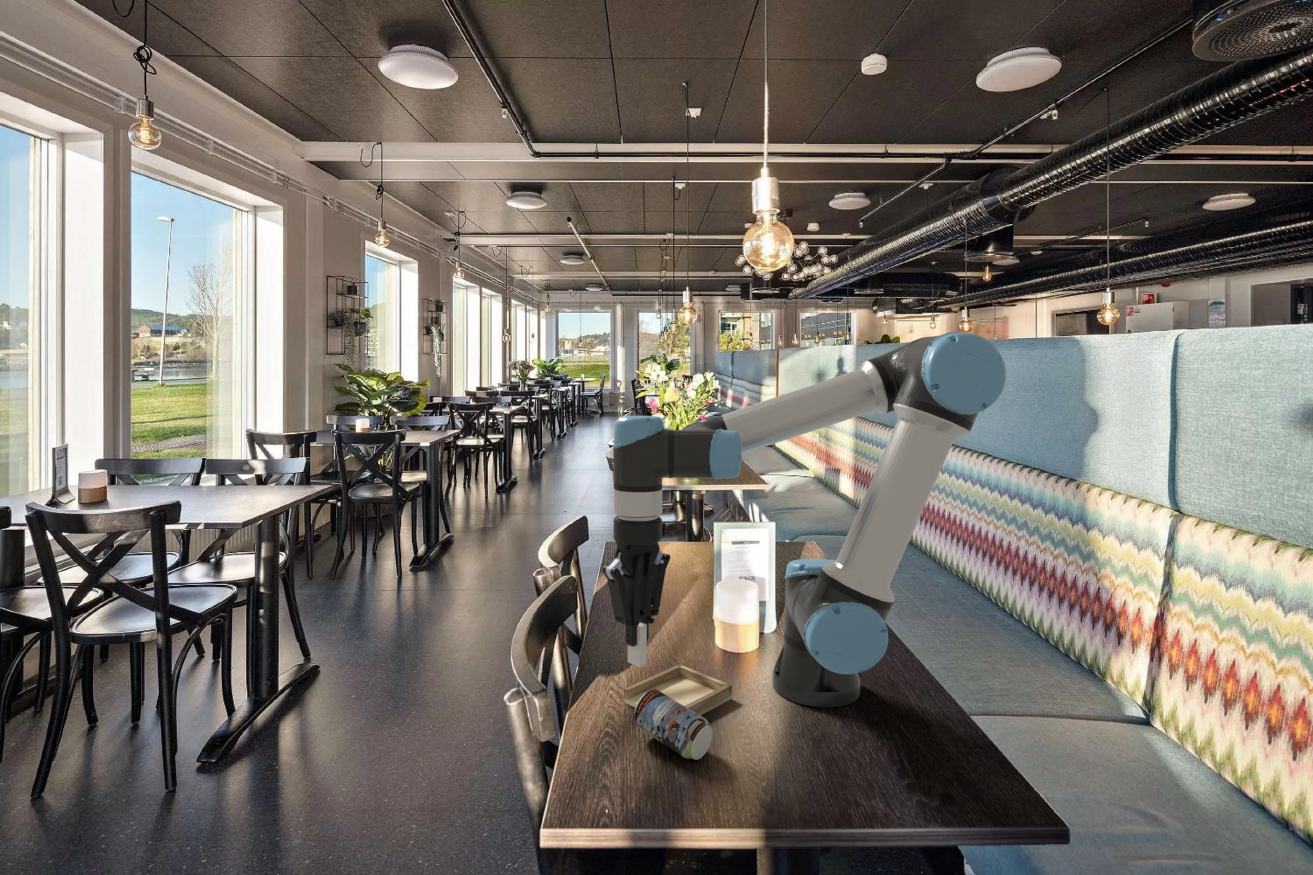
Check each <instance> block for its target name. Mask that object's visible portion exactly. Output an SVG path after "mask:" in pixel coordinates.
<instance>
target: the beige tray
mask: <svg viewBox="0 0 1313 875" xmlns="http://www.w3.org/2000/svg"><path fill="white" fill-rule="evenodd" d="M732 687H733V685H732V684H729V683H727V682H725V681H722V680H719V679H717V678H714V677H712V676H710V675H707V674H704V673H702V672H700V671H697V670H694V669H692V668H689V667H687V666H685V665H682V664H678V665H675V666H672V667H671V668H668V669H666V670H663V671H661V672H659V673H657V674H654V675H652V676H649V677H648V678H645V679H644V680H641V681H638V682H636V683H634V684H631V685H630V686H627V687H625V688H623V704H624V703H625V704H627V705H628V706H630V707H632V708H634V709H635V708H636V705H637V703H638V701H639V699H640V698H641V697H642V696H643V695H644V694H645V693H647V692H649V691H650V690H653V689H656V690H659V691H660V692H662V693H663V694H665V695H667V696H668V697H670V698H672V699H673V700H675V701H677V702H678V703H680V704H682V705H683V706H685V707H687V708H688V709H690V710H692V711H693V712H695V713H697V714H698V715H700V716H703V715H704V714H706V713H708V712H710V711H712V710H713V709H715V708H718V707H719V706H721V705H723V704H725V703H727V702H729V701H730V700H732V695H733V694H732V691H733V690H732V689H733V688H732Z"/></svg>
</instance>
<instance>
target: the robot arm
mask: <svg viewBox="0 0 1313 875" xmlns="http://www.w3.org/2000/svg"><path fill="white" fill-rule="evenodd" d="M1006 378H1007V370H1006V364H1005V361H1004V360H1003V357H1002V354H1001V353H1000V351H999V350H998V348H997V347H996V346H995V345H994V344H993V343H992V342H991V341H989V340H988V339H986V338H985V337H983V336H981V335H979V334H976V333H975V334H974V333H969V332H962V331H950V332H946V333H942V334H940V335H934V336H932V335H931V336H925V337H921V338H917V339H916V338H915V340H911V341H909V342H907V343H904V344H903V345H901V346H899V347H897V348H895V349H893V350H890V351H888V352H885V353H884V354H881V355H878V356H876V357H873V358H870V359H866V360H864V361H863V362H862V364H861V366H860V368H859V369H856V370H853V371H850V372H847V373H845V374H841V375H838V376H835V377H833V378H829V379H826V380H823V381H819V382H817V383H814V384H811V385H807V386H805V387H801V388H800V389H799V388H798V389H796V390H793V391H790V392H787V393H783V394H781V395H778V396H775V397H772V398H769V399H766V400H763V401H760V402H758V403H754V404H751V405H748V406H746V407H745V406H744V407H741V408H739V409H737V410H733V411H731V412H727V413H724V414H722V415H720V416H716V417H713V418H709V419H707V420H704V421H695V422H692V423H689V424H687V425H685V427H683V428H682V429H669V428H665V426H664V422H663V419H662V417H661V416H655V415H654V416H653V415H624V416H620V417H619V418H618V419H616V421H615V422H614V431H613V432H614V434H613V435H614V436H613V446H612V448H613V451H612V452H613V513H614V514H615V515H616V516H615V517H614V518H613V534H612V535H613V537H612V538H613V539H614V541H615V543H616V549H615V552H614V560H613V561H612V562H611V564H610V565H607V564H606V565H605V564H604V566H602V569H601V570H602V573H603V574H604V576H605V578H606V580H607V585H608V591H609V596H610V599H611V600H610V601H611V605H612V611H613V616H614V617H613V618H614V621H615V622H616V623H619V624H621V625H624V626H625V627H624V628H625V635H624V636H625V637H624V638H625V639H624V640H625V644H626V645H627V663H629V664H631V665H633V666H636V667H638V668H641V667H644V666H646V665H647V642H648V640H649V635H650V634H649V633H650V632H649V629H650V628H649V625H653V624H654V622H655V618H653V617H655V616H658V615H659V612H660V607H661V602H662V595H663V589H664V585H665V584H664V582H665V578H666V571H667V568H668V565H669V562H670V560H671V555H670V554H669V553H665V552H663V551H661V549H660V545H659V542H660V541H662V537H663V519H662V518H661V516H660V515H662V514H663V479H702V480H704V479H707V480H710V479H712V480H716V481H720V480H723V479H735V478H737V477H738V476H739V475H740V474H741V468H742V455H744V454H746V453H750V452H753V451H756V450H758V449H763V448H764V447H765V448H766V447H768V446H772V445H774V444H778V443H781V442H783V441H786V440H787V441H788V440H789V439H793V438H796V437H799V436H802V435H805V434H809V433H811V432H814V431H817V430H820V429H824V428H827V427H829V426H833V425H836V424H839V423H842V422H845V421H847V420H848V421H849V420H851V419H854V418H858V417H860V416H863V415H866V414H870V413H873V412H876V413H878V414H880V415H885V414H889V413H891V412H895V415H896V418H897V421H896V423H895V425H894V428H893V430H892V432H891V435H890V436H889V439H888V442H887V443H886V445H885V448H884V450H883V453H882V455H881V457H880V459H879V462H878V464H877V466H876V469H875V471H874V473H873V475H872V477H871V480H870V482H869V484H868V487H867V488H866V491H865V494H864V496H863V499H862V501H861V503H860V505H859V508H858V511H857V512H856V514H855V516H854V519H853V521H852V524H851V526H850V528H849V530H848V533H847V535H846V538H845V540H844V542H843V544H842V546H841V549H840V551H839V553H838V555H837V557H836V559H826V558H825V559H824V558H799V559H794V560H791V561H790V562H789V563H787V565H786V571H785V576H784V580H785V589H784V590H785V594H784V595H785V596H784V599H785V600H784V623H783V624H784V626H783V627H784V629H783V644H782V647H781V648H780V652H779V654H778V656H777V660H776V662H775V664H774V667H773V670H772V687H773V689H774V691H775V692H776V693H777V694H779V695H780V696H781V697H783V698H785V699H786V700H789V701H791V702H794V703H796V704H800V705H804V706H809V707H815V708H837V707H844V706H848V705H850V704H853V703H855V701H857V700H858V699H859V697H860V693H861V678H860V676H859V674H858V673H862V672H864V671H865V672H866V671H868V670H870V669H871V668H873V667H875V665H877V664H878V663H879V662H880V660H882V658H883V657H884V655H885V653H886V651H887V649H888V644H889V631H888V626H887V624H886V620H887V618H888V615H889V614H890V612H891V609H892V607H893V605H894V602H895V600H896V598H895V596H894V593H893V592H892V588H891V582H892V580H893V579H894V575H895V574H896V571H897V569H898V567H899V564H900V562H901V560H902V557H903V556H904V553H905V550H906V549H907V547H908V544H909V542H910V540H911V537H912V536H913V533H914V531H915V528H916V526H917V525H918V522H919V520H920V518H921V515H922V514H923V512H924V508H925V506H926V504H927V502H928V500H929V497H930V495H931V493H932V491H933V489H934V486H935V483H936V482H937V480H938V477H939V475H940V472H941V470H942V468H943V467H944V464H945V461H946V459H947V457H948V454H949V452H950V450H951V448H952V446H953V443H954V442H955V441H956V440H958V439H960V438H962V437H965V436H967V435H969V434H970V432H971V430H972V428H973V425H974V424H975V421H976V419H977V417H978V415H979V413H980V412H983V411H986V409H988V408H990V407H991V406H993V405H994V404H995V402H996V401H997V400H998V399H999V398H1000V397H1001V395H1002V394H1003V393H1002V392H1003V391H1004V388H1005V385H1006Z"/></svg>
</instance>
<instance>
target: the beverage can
mask: <svg viewBox="0 0 1313 875" xmlns="http://www.w3.org/2000/svg"><path fill="white" fill-rule="evenodd" d="M633 719H634V723H635V725H636V726H637V727H638V728H639V729H640V730H642V731H644V732H645V733H646V734H648V735H650V736H651V737H653V738H654V739H656V740H657V741H659V742H660V743H662V744H663V745H665V746H666V747H668V748H669V749H671V750H672V751H674V753H676V754H678V755H680V756H681V757H682V758H684V759H687V760H692V759H693V760H697V761H698V760H700V759H702V758H703V756H705V755H706V754H707V752H708V750H709V748H710V746H711V745H712V742H713V738H714V729H713V727H712V726H710V723H709V721H708V720H707V719H706V718H705V717H703V715H698V714H697V713H695V712H693V711H692V710H690V709H688V708H687V707H685V706H683V705H682V704H680V703H678V702H677V701H675V700H673V699H672V698H670V697H668V696H667V695H665V694H663V693H662V692H660V691H659V690H656V689H653V690H650V691H649V692H647V693H645V694H644V695H643V696H642V697H641V698H640V699H639V701H638V703H637V705H636V708H634V718H633Z"/></svg>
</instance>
